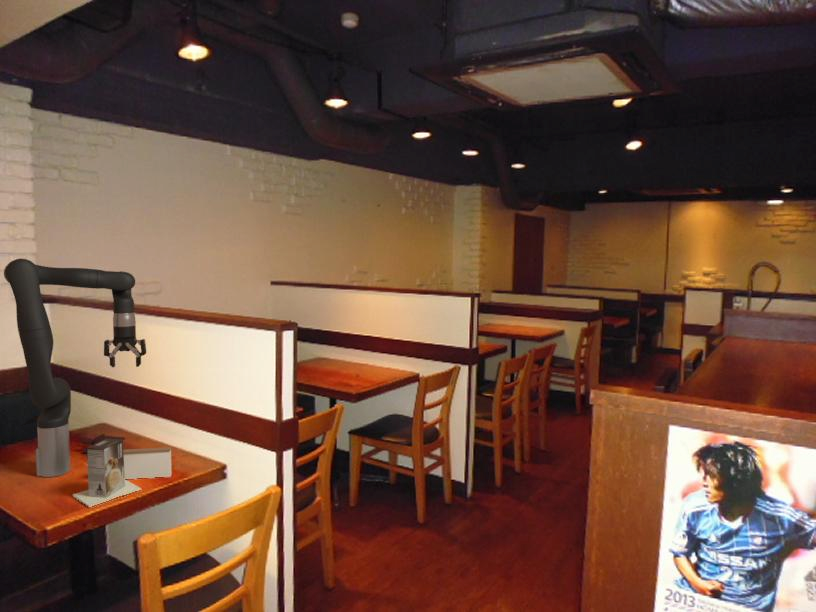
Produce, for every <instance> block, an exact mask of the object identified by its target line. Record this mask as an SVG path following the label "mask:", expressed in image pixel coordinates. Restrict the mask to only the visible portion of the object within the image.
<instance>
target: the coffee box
mask: <svg viewBox="0 0 816 612" xmlns="http://www.w3.org/2000/svg"><path fill="white" fill-rule="evenodd" d="M86 448H87V454H86V456H87V457H86V459H87V460H86V462H87V463H86V464H87V481H88V490H89V496H91V497H103V498H107V497H108V496H110V495H111V494H113V493H115V492H116V491H118V490H119V489H121V488H122V487H124V486H125V476H124V453H123V450H124V440H123V439H104V440H102V441H100V442H98V443H96V444H94V445H91V444H90V445H89V446H87V447H86Z"/></svg>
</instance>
